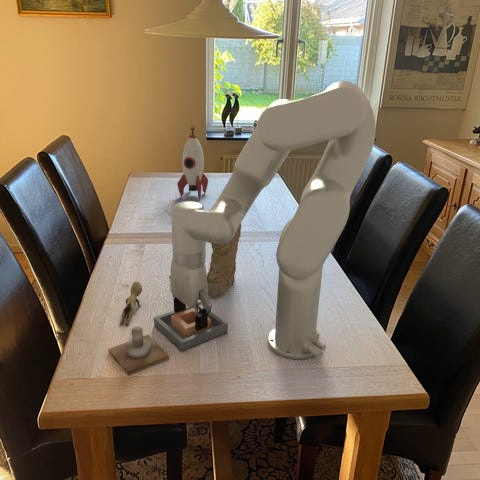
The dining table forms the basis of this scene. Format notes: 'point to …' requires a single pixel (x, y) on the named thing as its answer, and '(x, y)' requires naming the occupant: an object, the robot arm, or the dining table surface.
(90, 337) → the dining table surface
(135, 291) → the figurine
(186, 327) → the ring
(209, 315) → the tray
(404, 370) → the dining table surface
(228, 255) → the tan log
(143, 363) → the brown piece
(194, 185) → the toy
